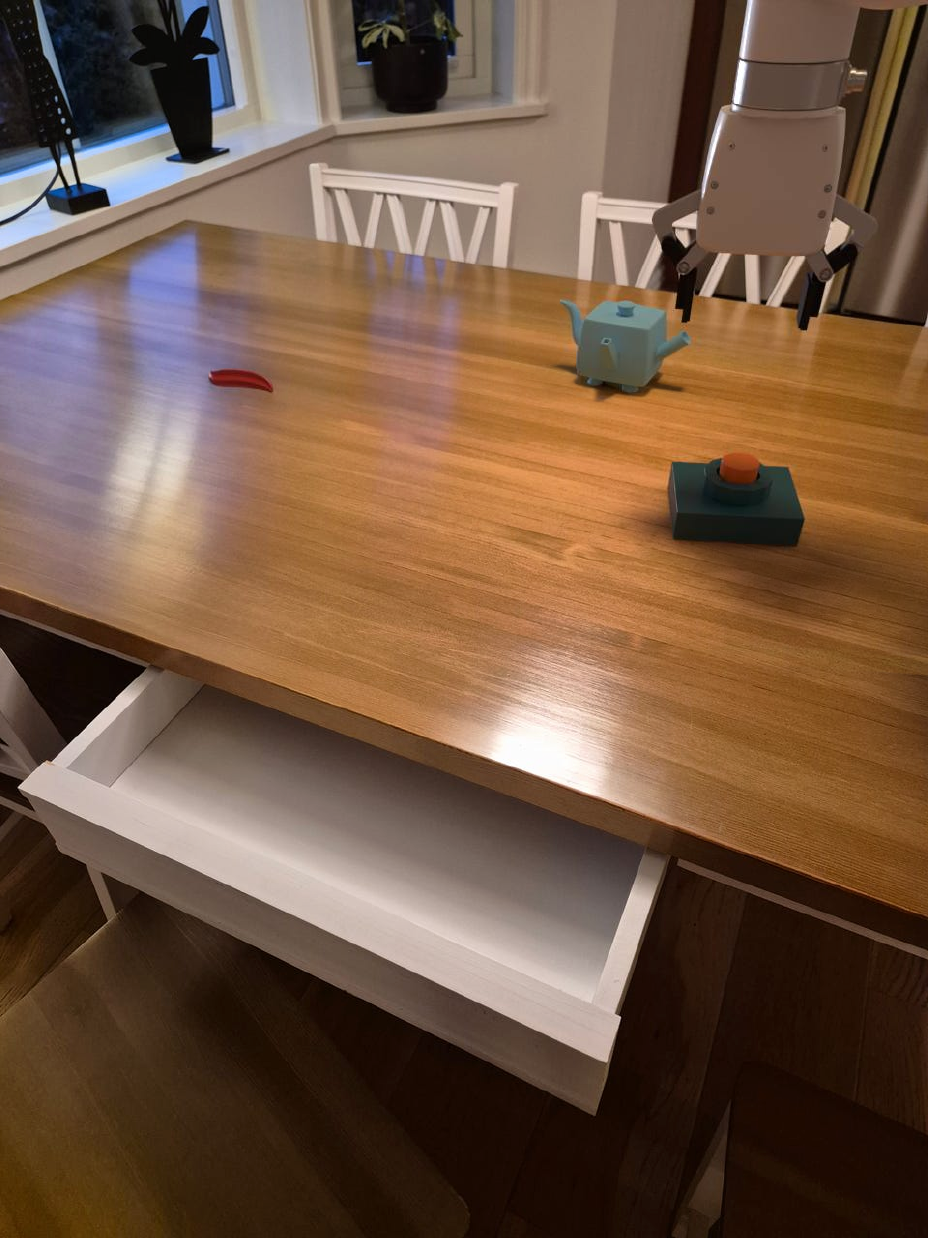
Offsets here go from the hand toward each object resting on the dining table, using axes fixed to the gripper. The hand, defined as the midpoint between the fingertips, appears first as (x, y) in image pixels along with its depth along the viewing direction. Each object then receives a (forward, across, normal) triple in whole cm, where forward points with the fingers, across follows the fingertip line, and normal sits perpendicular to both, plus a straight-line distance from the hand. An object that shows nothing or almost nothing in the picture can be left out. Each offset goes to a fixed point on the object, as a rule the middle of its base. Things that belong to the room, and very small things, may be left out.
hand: (742, 320), depth 72 cm
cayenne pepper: (+21, +63, -22) cm, 69 cm away
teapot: (+21, +12, -32) cm, 40 cm away
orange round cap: (+16, -2, -2) cm, 16 cm away
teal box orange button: (+21, -2, -2) cm, 21 cm away
